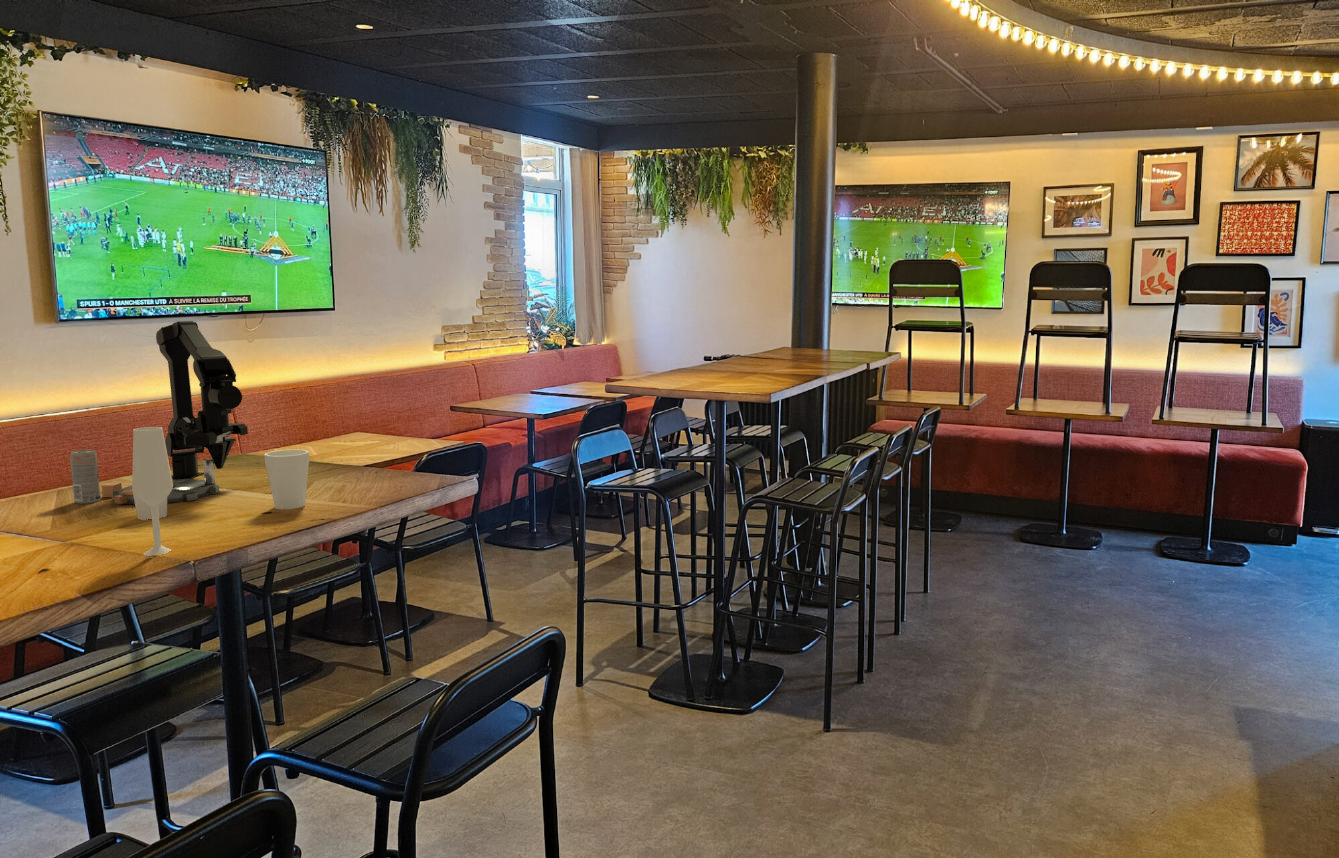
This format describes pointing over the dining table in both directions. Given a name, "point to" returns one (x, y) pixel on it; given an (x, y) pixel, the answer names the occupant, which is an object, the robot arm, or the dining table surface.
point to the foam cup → (288, 477)
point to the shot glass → (149, 508)
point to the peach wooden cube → (110, 489)
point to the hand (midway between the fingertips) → (219, 468)
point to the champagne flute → (151, 476)
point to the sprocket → (179, 488)
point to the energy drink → (85, 476)
